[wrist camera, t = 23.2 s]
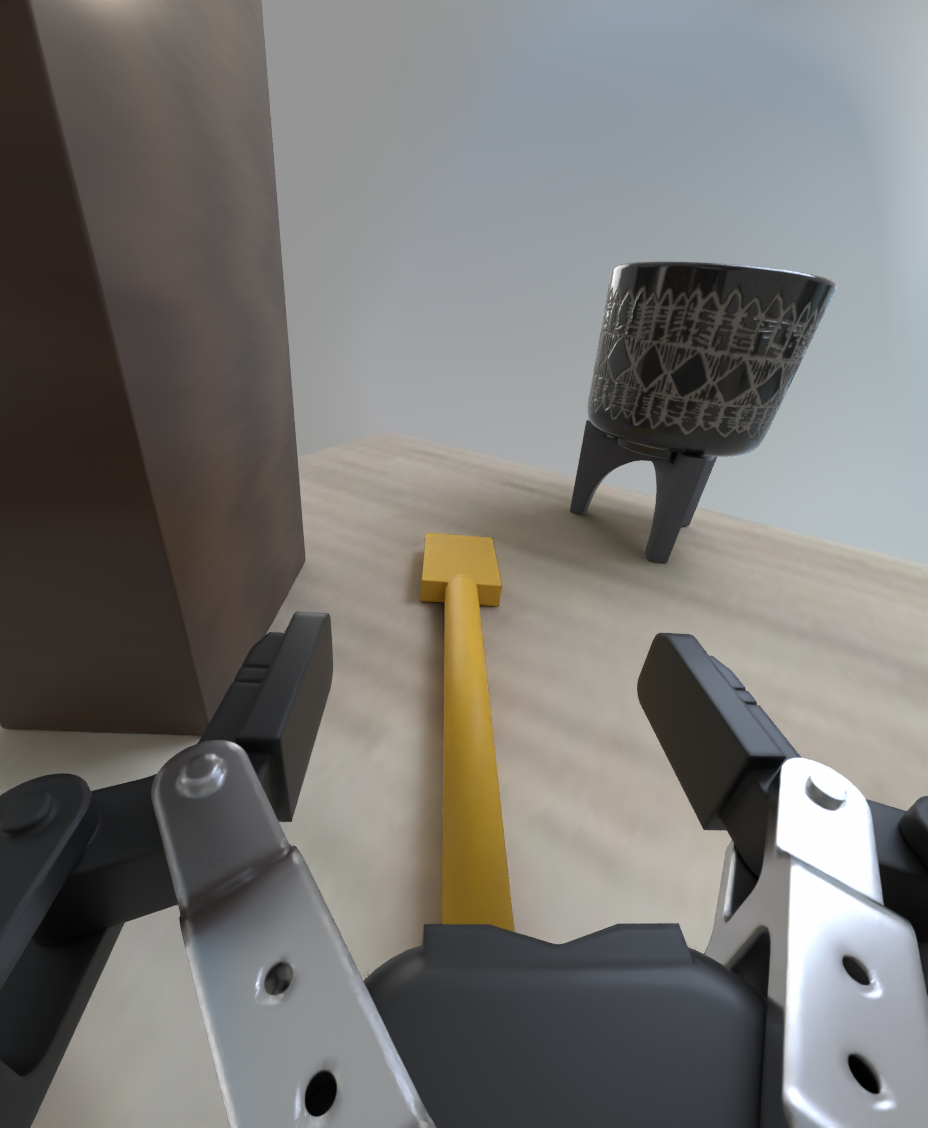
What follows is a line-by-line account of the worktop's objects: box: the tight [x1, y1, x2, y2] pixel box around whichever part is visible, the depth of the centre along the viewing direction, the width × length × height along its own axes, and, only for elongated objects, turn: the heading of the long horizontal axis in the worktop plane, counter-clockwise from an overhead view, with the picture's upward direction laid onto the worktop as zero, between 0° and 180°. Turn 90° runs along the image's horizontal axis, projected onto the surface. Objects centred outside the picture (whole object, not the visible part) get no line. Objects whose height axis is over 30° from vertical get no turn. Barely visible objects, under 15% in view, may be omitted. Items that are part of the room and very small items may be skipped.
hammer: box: [420, 533, 514, 932], centre depth 20 cm, size 23×4×2 cm, turn 2°
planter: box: [570, 262, 836, 563], centre depth 33 cm, size 13×13×18 cm
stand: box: [0, 0, 305, 735], centre depth 14 cm, size 14×9×30 cm, turn 2°
